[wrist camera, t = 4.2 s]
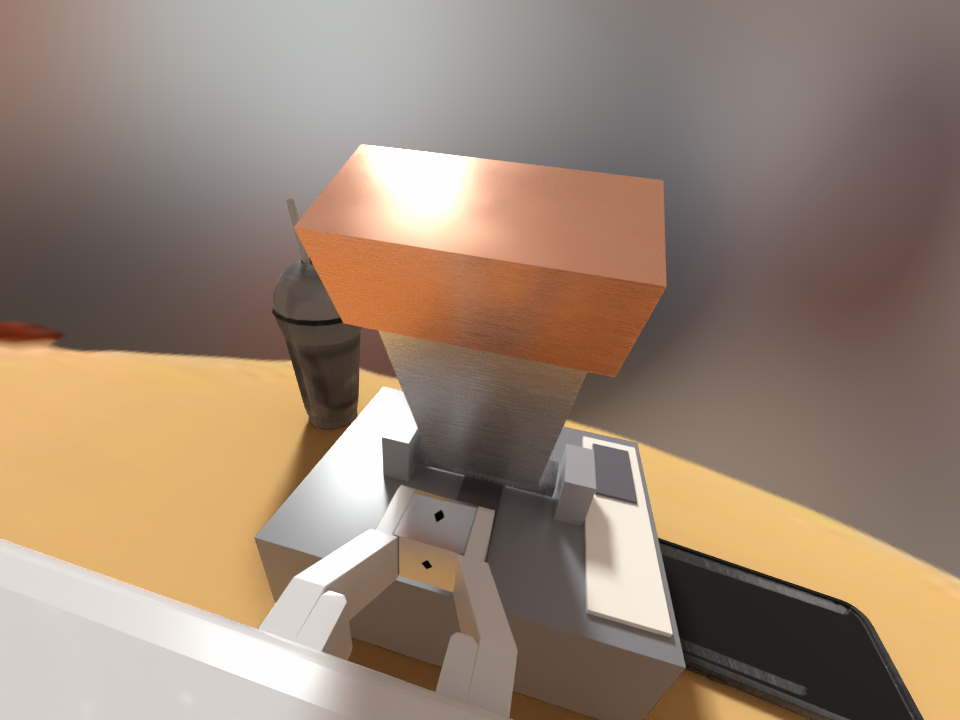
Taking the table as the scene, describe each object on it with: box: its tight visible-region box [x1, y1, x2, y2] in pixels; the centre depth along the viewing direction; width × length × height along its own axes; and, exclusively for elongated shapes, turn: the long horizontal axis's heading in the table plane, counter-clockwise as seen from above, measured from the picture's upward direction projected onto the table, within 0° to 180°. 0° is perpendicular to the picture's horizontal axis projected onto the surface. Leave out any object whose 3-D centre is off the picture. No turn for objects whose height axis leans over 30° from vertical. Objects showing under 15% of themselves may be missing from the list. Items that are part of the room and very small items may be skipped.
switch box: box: [254, 387, 686, 720], centre depth 24 cm, size 20×14×10 cm
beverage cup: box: [273, 199, 362, 429], centre depth 32 cm, size 7×7×20 cm
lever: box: [294, 144, 666, 497], centre depth 15 cm, size 8×3×18 cm, turn 77°
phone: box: [658, 538, 924, 720], centre depth 23 cm, size 8×1×15 cm
